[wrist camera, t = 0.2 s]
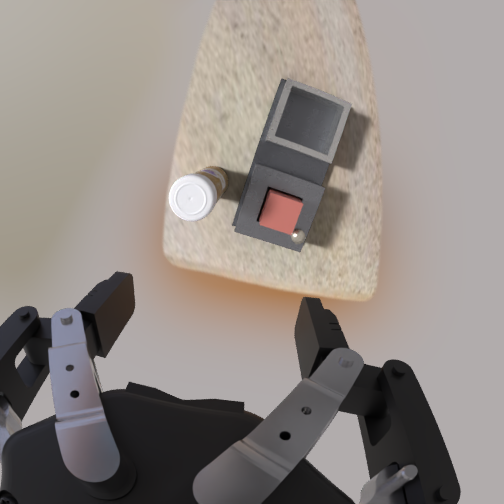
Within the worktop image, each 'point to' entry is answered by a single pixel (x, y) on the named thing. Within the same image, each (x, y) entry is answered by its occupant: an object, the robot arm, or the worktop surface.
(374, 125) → the worktop surface
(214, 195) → the sprinkles bottle
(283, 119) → the grey push button box
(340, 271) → the worktop surface
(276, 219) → the button
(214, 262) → the worktop surface
